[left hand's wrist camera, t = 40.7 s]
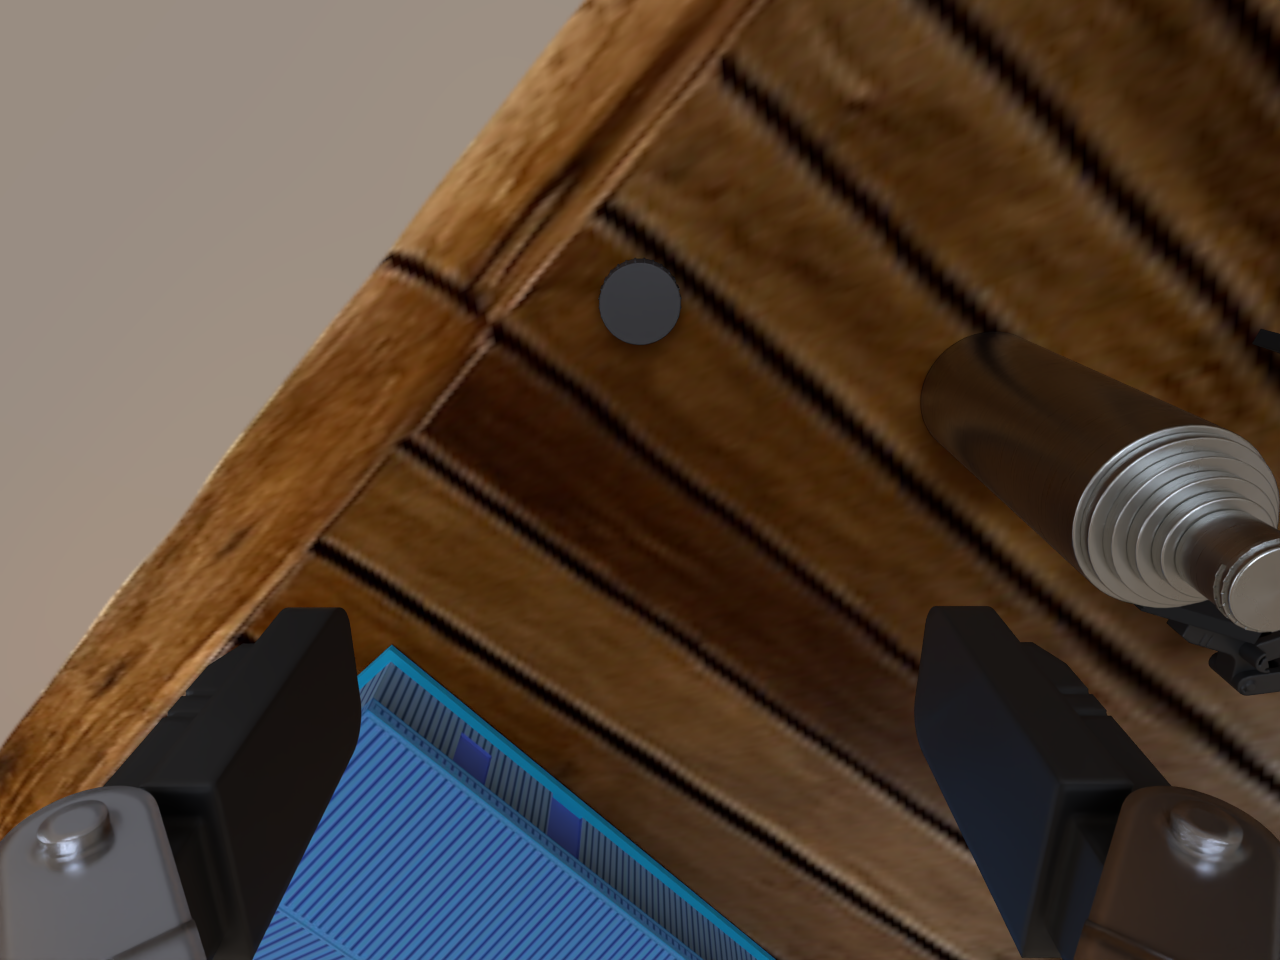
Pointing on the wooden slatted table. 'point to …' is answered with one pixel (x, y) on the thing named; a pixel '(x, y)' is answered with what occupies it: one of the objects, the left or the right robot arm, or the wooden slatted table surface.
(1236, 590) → the bottle
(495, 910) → the model building
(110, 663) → the wooden slatted table surface
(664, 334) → the cap
